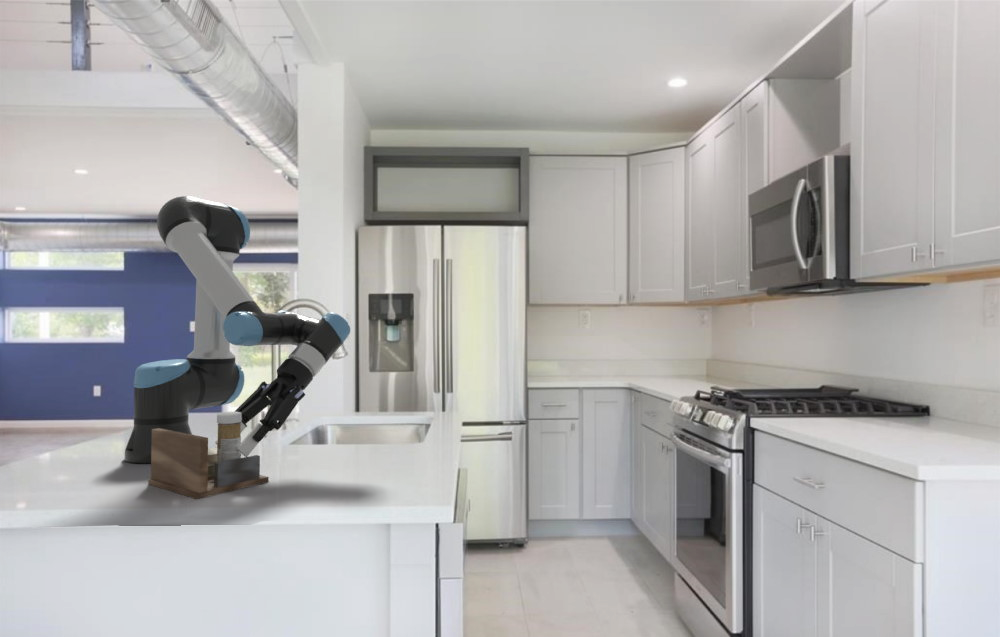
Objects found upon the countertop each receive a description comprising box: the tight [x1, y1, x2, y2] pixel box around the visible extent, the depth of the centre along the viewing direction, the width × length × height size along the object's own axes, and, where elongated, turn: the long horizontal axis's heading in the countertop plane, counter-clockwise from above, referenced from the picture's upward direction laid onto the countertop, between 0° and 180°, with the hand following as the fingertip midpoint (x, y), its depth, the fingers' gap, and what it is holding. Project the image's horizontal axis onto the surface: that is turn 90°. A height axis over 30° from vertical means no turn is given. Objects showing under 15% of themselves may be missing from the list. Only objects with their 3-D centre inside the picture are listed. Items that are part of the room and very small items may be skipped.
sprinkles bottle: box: [216, 411, 242, 463], centre depth 120 cm, size 5×5×13 cm
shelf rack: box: [147, 428, 269, 500], centre depth 121 cm, size 15×18×11 cm
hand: (230, 449), depth 122 cm, fingers open, 7 cm apart
